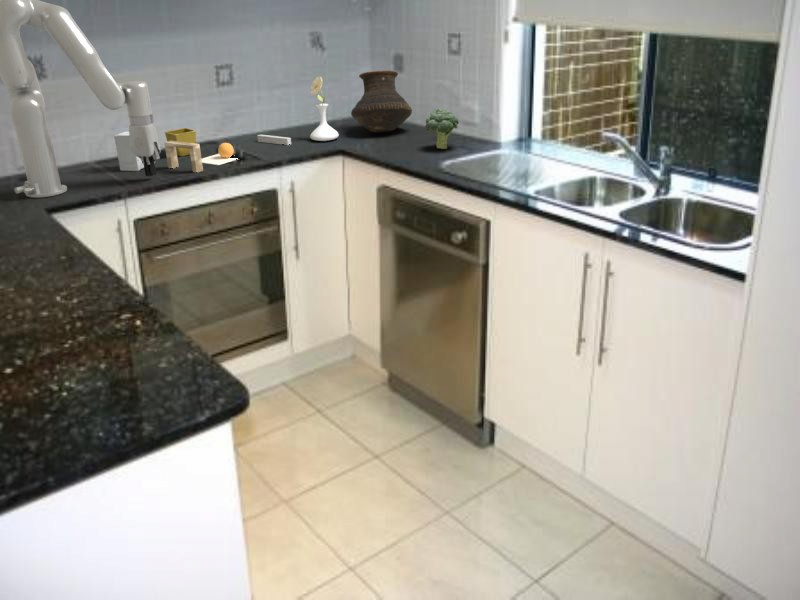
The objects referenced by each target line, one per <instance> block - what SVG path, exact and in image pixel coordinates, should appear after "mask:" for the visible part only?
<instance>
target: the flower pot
mask: <svg viewBox="0 0 800 600" xmlns="http://www.w3.org/2000/svg"><path fill="white" fill-rule="evenodd" d="M196 132H197V130H195V129H191V128H188V127H183V128H178V129H171V130H167V131H164V135H165V138H166V142H167V141H179V142H187V143H195V144H197V133H196ZM176 153H177V157H185V156H188V155H189V156H190V150H189V149H187V148H179V147H176Z"/></svg>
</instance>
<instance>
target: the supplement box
mask: <svg viewBox="0 0 800 600" xmlns="http://www.w3.org/2000/svg"><path fill="white" fill-rule="evenodd" d="M113 138H114V142H115V148H116V155H117V158H118V165H119V170H120V171H125V172H130V171H131V172H134V171H135V172H139V171H140V170H141V169H144V164H142V161H141V159H140V158H139V157H137V156H136V155H134V154H133V153H132V152H131V146H130V138H129V131H123V132H120V133H118V134H115V135H113Z"/></svg>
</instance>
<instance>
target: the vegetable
mask: <svg viewBox="0 0 800 600" xmlns="http://www.w3.org/2000/svg"><path fill="white" fill-rule="evenodd" d="M459 123H460V122H459V119H458V117H457V116H456V115H455V114H453V112H452V111H451V110H449V109H448V110H447V109H446V108H442V107H437V108H435V109H434V110H431V112H430V114H429V116H427V117H426V118H425V128H426V131H428V132H429V133H430V134H431V133H433V132H434V131H435V132H436V138H437V141H436V142H435V144H436V148H437V149H441V150H445V149H446V150H447V149H448V142H447V141H448V137H449V136H450V135H451V133H452V132H453V130H456V129H458V125H459Z"/></svg>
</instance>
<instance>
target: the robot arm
mask: <svg viewBox="0 0 800 600" xmlns="http://www.w3.org/2000/svg"><path fill="white" fill-rule="evenodd" d="M22 25H23V26H28V27H31V28H34V29H37V30H42V31H45V32H47V33H48V34H49V36H50V37H51V39H52V40H53V41H54V43H55V44H56V45H57V46H58V47H59V48H60V50H61V51H62V53H63V54H64V55H65V57H66V59H68V61H69V63H71V65H72V66H73V68H74V69H75V70H76V72H77V73H78V74H79V75H80V76H81V78H82V79H83V81H84V82H85V83H86V84H87V86H88V87H89V88H90V90H91V91H92V93H93V94H94V95H95V97H96V98H97V99H98V100H99V102H100V103H101V104H102V106H103V107H105V108H106V109H108V110H112V111H116V110H120V109H121V108H122V107H123V106H124V105H126V109H127V114H128V120H129V125H128V132H129V138H130V146H131V152H132V153H133V154H134V155H136V156H137V157H139V158H140V159H141V161H142V164H144V168H143V169H144V174H145V176H146V177H152V176H156V175H157V169H156V165H155V164H156V161H157V160H160V158H161V157H160V154H161V146H160V145H161V144H160V139H159V135H158V134H159V133H158V132H157V129H156V126H155V122H154V116H153V110H152V109H153V108H152V105H151V99H150V98H151V97H150V91H149V86H148V83H147V82H145V81H143V80H142V81H141V80H134V81H128V82H116V80H115V78H113V76H112V75H111V73H110V72H109V71H108V69H107V68H106V66H105V65H104V63H103V61H102V60H101V57H100V56H99V53H98V52H97V50H96V49H95V47H94V46H93V44H92V43H91V41H90V40H89V39H88V38H87V36H86V34H85V33H84V32H83V31H82V29H81V28H80V27H79V25H78V24H77V23H76V21H75V20H74V18H73V17H72V14H71V13H70V12H69V10H67V8H65V7H63V6H60V5H56V4H54V3H53V4H52V3H48V2H45V1H41V0H0V78H1V80H2V82H3V83H4V84H5V85H6V88H7V91H8V94H9V97H10V100H11V102H10V106H9V110H10V111H9V112H10V117H11V120H12V123H13V127H14V130H15V134H16V139H17V141H18V142H17V143H18V146H19V150H20V154H21V159H22V163H23V168H24V171H25V175H26V179H27V180H26V181H24V184H22V185H21V186H17V187H14V189H13V190H14V192H15V194H20V193H21V194H22V193H24V194H25V196H26V197H28V198H32V199H33V198H35V199H38V198H39V199H40V198H48V197H54V196H58V195H61V194H63V193H65V192H67V191H68V186H67V185H65V184H61V178H60V175H59V169H58V165H57V159H56V156H55V152H54V148H53V147H54V146H53V143H52V138H51V134H50V133H51V132H50V130H49V125H48V120H47V117H46V103H45V99H44V96H43V92H42V89H41V86H40V83H39V79H38V75H37V73H36V69H35V67H34V65H33V63H32V61H31V60H30V59H29V58H28V56H27V54H26V50H25V48H24V43H23V40H22V37H21V33H20V29H21V26H22Z"/></svg>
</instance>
